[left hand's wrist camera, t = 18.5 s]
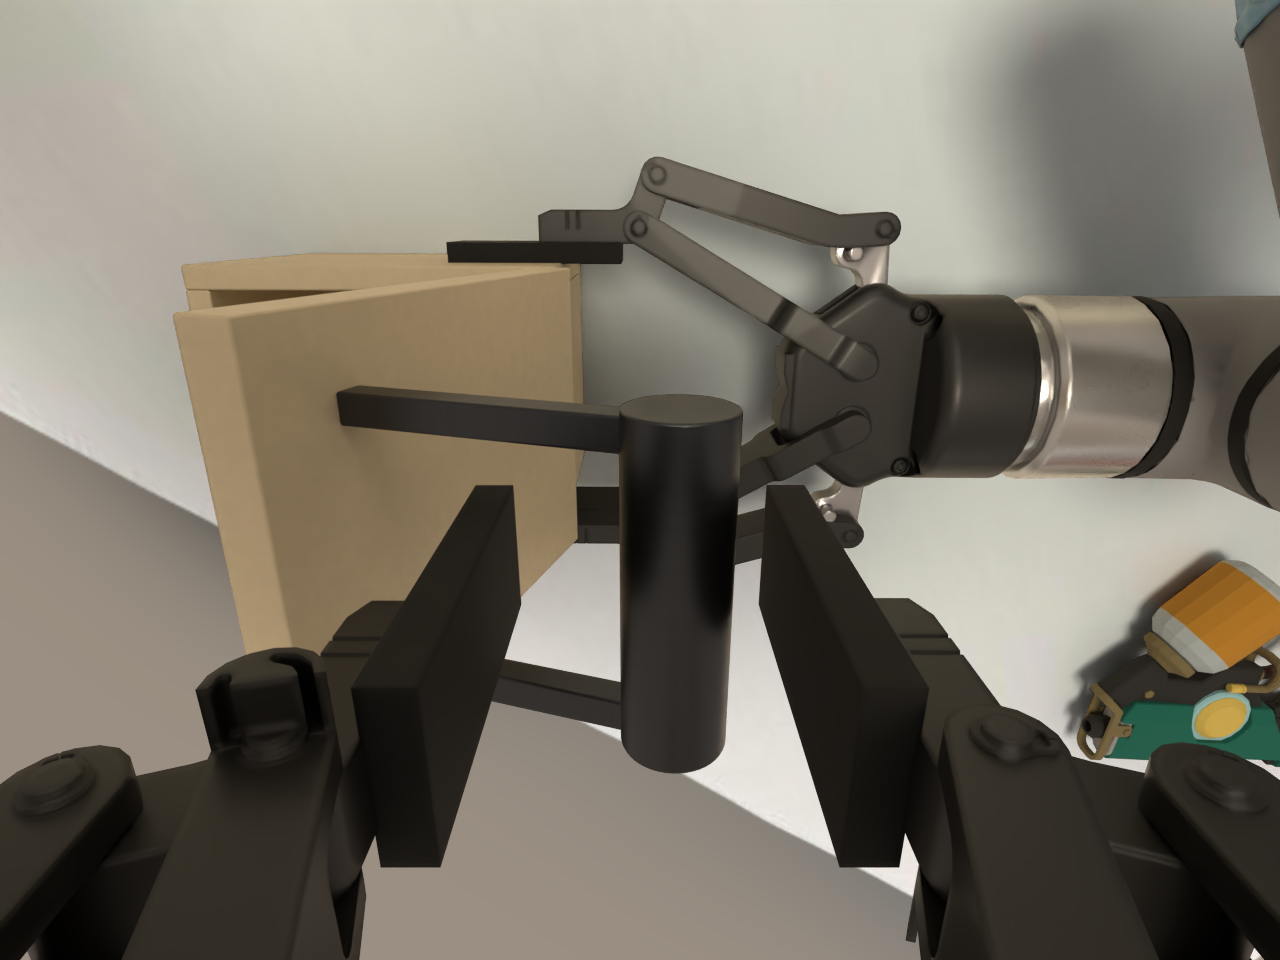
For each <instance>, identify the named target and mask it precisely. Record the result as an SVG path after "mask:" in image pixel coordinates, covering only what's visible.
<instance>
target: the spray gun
mask: <svg viewBox="0 0 1280 960" xmlns="http://www.w3.org/2000/svg"><path fill="white" fill-rule="evenodd" d="M1152 630H1153V632H1154V633H1152V632H1149V633H1147V634H1146V635H1145V636H1144V641H1145V643H1146V646H1147V653H1148V654H1149V655H1148V654H1145V655H1143V656H1140V657H1138V658H1137V659H1135V660H1133V661H1132V662H1130V663H1129V664H1127V665H1126V666H1124V667H1122V668H1121V669H1119V670H1118V671H1116V672H1115V673H1113V674H1111V675H1110V676H1108V677H1107V678H1105V679H1104V680H1102V681H1100V682H1099V685H1098V684H1097V683H1095V684H1093V685H1092V686H1090V689H1091V690H1092V691H1093V693H1094V696H1093V699H1092V701H1091V703H1090V706H1089V708H1088V710H1087V713H1086V715H1085V717H1084V719H1083V721H1082V724H1081V727H1080V729H1079V731H1078V734H1077V743H1078V746H1079V747H1080V749H1081V750H1082V752H1083V753H1084V754H1085V755H1086V756H1087V757H1088V758H1089V759H1091V760H1101V759H1102V758H1103V757H1105V758H1116V759H1137V760H1149V758H1150V755H1151V753H1152V752H1153V751H1155V750H1156V749H1157V748H1158V747H1160V746H1161V745H1164V744H1171V743H1178V742H1184V743H1192V744H1199V745H1207V746H1210V747H1214V748H1218V749H1220V750H1225V751H1228V752H1230V753H1233V754H1236V755H1238V756H1240V757H1241V758H1243V759H1254V760H1262V761H1263V762H1264V763H1265V764H1267V765H1273V766H1275V767H1280V697H1279V698H1278V699H1276V700H1274V701H1271V702H1268V703H1267V705H1266V704H1265V703H1264V702H1262V701H1261V700H1260V695H1259V693H1268V692H1272V691H1274V690H1275V689H1277V688H1278V687H1279V686H1280V659H1279V658H1278V657H1277V656H1276V655H1274V654H1273V653H1272V652H1270V651H1268V650H1266V649H1264V648H1263V647H1261V646H1262V645H1264V644H1265V643H1267V642H1268V641H1270V640H1271V639H1273V638H1274V637H1276V636H1277V635H1279V634H1280V587H1279V586H1278V585H1277V584H1276V583H1274V582H1273V581H1272V580H1270V579H1269V578H1268V577H1267V576H1265V575H1264V574H1263V573H1261V572H1260V571H1258V570H1257V569H1256V568H1254V567H1253V566H1251V565H1249V564H1247V563H1245V562H1242V561H1231V560H1222V561H1220V562H1218V563H1217V564H1216V565H1214V566H1213V567H1212V568H1210V569H1209V570H1208V571H1207V572H1205V573H1204V574H1203V575H1201V576H1200V577H1199V578H1197V579H1196V580H1195V581H1193V582H1192V583H1191V584H1189V585H1188V586H1187V587H1186V588H1184V589H1183V590H1182V591H1180V592H1179V593H1178V594H1176V595H1175V596H1174V597H1172V598H1171V599H1170V600H1168V601H1167V602H1166V603H1165V604H1163V605H1162V606H1161V607H1159V609H1158V610H1157V612H1156V613H1155V614H1154V616H1153V617H1152ZM1258 654H1259V655H1260V656H1262V657H1263V658H1265V659H1266V660H1268V661H1269V662H1270V663H1271V664H1272V665H1268V666H1259V665H1257V664H1256V663H1254V660H1255V657H1256V655H1258ZM1242 659H1243V661H1241V660H1242ZM1268 678H1271V679H1270V680H1269V681H1268V682H1267V683H1265V684H1262V685H1258V683H1259V681H1261V680H1262V679H1268ZM1101 701H1102V702H1103V703H1104V704H1105V705H1099V704H1100V702H1101ZM1087 734H1088V735H1089V736H1090V737H1092V738H1093V744H1094V746H1095V748H1096V750H1097V751H1096V753H1095V754H1094V753H1093V752H1092V750H1091V749H1090V748H1089V747H1088V745H1087V743H1086V735H1087Z"/></svg>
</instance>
